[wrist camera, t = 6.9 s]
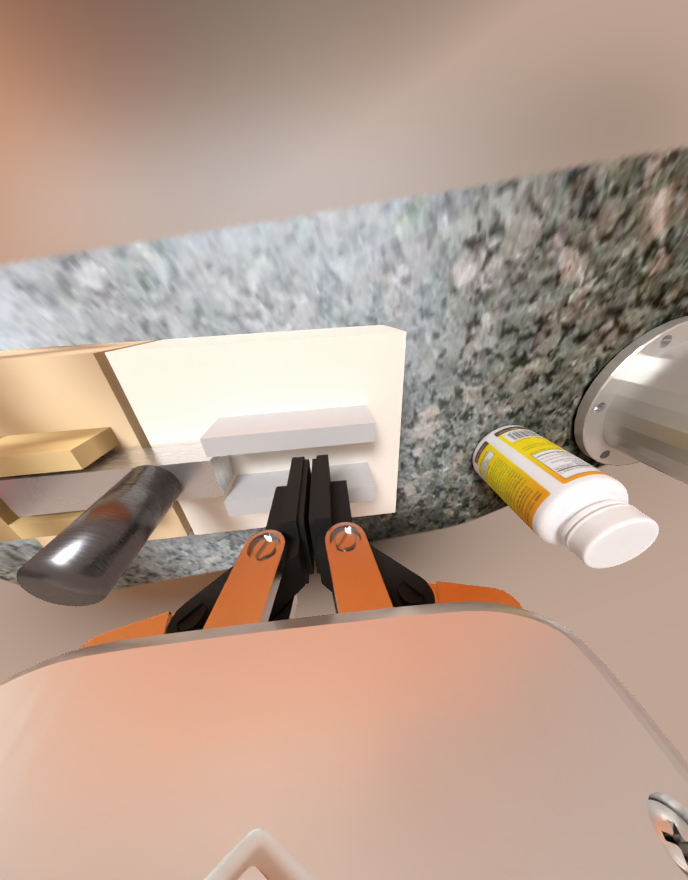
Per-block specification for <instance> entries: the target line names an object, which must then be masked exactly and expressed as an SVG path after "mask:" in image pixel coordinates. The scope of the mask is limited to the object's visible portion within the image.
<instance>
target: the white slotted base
mask: <svg viewBox="0 0 688 880" xmlns="http://www.w3.org/2000/svg"><path fill="white" fill-rule="evenodd" d="M405 346H406V331H402V330H399V329H395V328H392V327H388V326H385V325H372V326H357V327H342V328H328V329H313V330H298V331H283V332H268V333H253V334H239V335H224V336H209V337H194V338H179V339H164V340H160V341H155V342H151V343H146V344H141V345H137V346H132V347H128V348H123V349H119V350H114V351H109V352H105V354H106V356H107V358H108V360H109V362H110V364H111V366H112V368H113V371H114V373H115V375H116V377H117V379H118V381H119V383H120V385H121V387H122V389H123V391H124V393H125V395H126V397H127V399H128V401H129V403H130V405H131V407H132V409H133V411H134V413H135V415H136V417H137V419H138V421H139V423H140V425H141V427H142V429H143V431H144V433H145V435H146V437H147V439H148V441H149V443H150V445H151V447H161V446H172V445H183V444H194V443H202V446H203V449H204V451H205V454H206V457H217V456H229V459H230V462H231V465H232V468H233V471H234V475H233V477H232V479H231V481H230V483H229V485H228V487H227V489H226V491H225V493H224V495H223V496H215V497H206V498H196V499H187V500H178V501H179V503H180V505H181V507H182V509H183V511H184V513H185V515H186V518H187V520H188V522H189V524H190V526H191V528H192V530H193V532H194V534H195V535H200V534H209V533H218V532H227V531H236V530H245V529H254V528H262V527H266V525H267V521H268V517H269V513H270V509H271V505H272V501H273V497H274V493H275V489H276V487H278V486H287V482H288V477H289V471H290V466H291V461H292V458H293V457H305V459H309V462H310V468H311V471H312V459H316V457H317V455H326V454H328V458H329V468H330V478H331V481H342V480H346V481H347V488H348V495H349V502H350V509H351V516H352V517H360V516H369V515H378V514H387V513H395V508H396V492H397V476H398V459H399V443H400V427H401V411H402V395H403V378H404V362H405Z"/></svg>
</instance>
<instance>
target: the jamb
mask: <svg viewBox="0 0 688 880" xmlns="http://www.w3.org/2000/svg"><path fill="white" fill-rule="evenodd" d="M155 341H156V340H150V341H135V342H120V343H105V344H90V345H75V346H61V347H46V348H31V349H16V350H2V351H0V477H7V476H18V475H28V474H39V473H49V472H60V471H70V470H81V469H84V468H85V467H87V466H88V465H90V464H91V463H93V462H94V461H95V460H97V459H98V458H100V457H101V456H103V455H104V454H105V453H107V452H108V451H117V450H128V449H139V448H150V447H151V445H150V443H149V441H148V439H147V437H146V435H145V433H144V431H143V429H142V427H141V425H140V423H139V421H138V419H137V417H136V415H135V413H134V411H133V409H132V407H131V405H130V403H129V401H128V399H127V397H126V395H125V393H124V391H123V389H122V387H121V385H120V383H119V381H118V379H117V377H116V375H115V373H114V371H113V368H112V366H111V364H110V362H109V360H108V358H107V356H106V354H105V352H109V351H114V350H119V349H123V348H128V347H132V346H137V345H141V344H146V343H151V342H155ZM84 511H86V510H81V511H72V512H62V513H52V514H43V515H33V516H24V517H18V516H17V515H16V514H15V513H14V512H13V511H12V509H11V508H10V507H9V506H8V505H7V504H6V503H5V502H4V501H3V500H2V499H1V498H0V541H10V540H19V539H28V538H36V539H37V540H38V542H39V543H40V544H41V545H42V546H43V547H45V546H46V545H47V544H48V543H49V542H51V541H52V540H53V539H54V538H55V537H56V536H57V535H58V534H60V533H61V532H62V531H63V530H64V529H65V528H66V527H67V526H69V525H70V524H71V523H72V522H73V521H74V520H75V519H77V518H78V517H79V516H80V515H81V514H82V513H83V512H84ZM191 529H192V528H191V526H190V524H189V522H188V520H187V518H186V515H185V513H184V511H183V509H182V507H181V505H180V503H179V501H178V500H177V501H175V502H174V504H173V505H172V507H171V508H170V509H169V511H168V512H167V513H166V515H165V516H164V518H163V519H162V520H161V522H160V523H159V525H158V526H157V527H156V529H155V530H154V531H153V533H152V534H151V536H150V537H149V538H148V540H156V539H165V538H174V537H183V536H188V535H189V533H190V531H191Z"/></svg>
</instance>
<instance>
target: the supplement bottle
mask: <svg viewBox="0 0 688 880" xmlns="http://www.w3.org/2000/svg"><path fill="white" fill-rule="evenodd" d="M473 466H474V469H475V471H476V472H477V473H478V475H479V476H480V477H481V478H482V479H483V480H484V481H485V482H486V483H487V484H488V485H489V486H490V487H491V488H492V489H493V490H494V491H495V492H496V493H497V494H498V495H499V496H500V497H501V498H502V499H503V501H504V502H505V503H506V504H507V505H508V506H509V507H510V508H511V509H512V510H513V511H514V512H515V513H516V514H517V515H518V516H519V517H520V518H521V519H522V520H523V521H524V522H525V523H526V524H527V525H528V526H529V527H530V528H531V529H532V530H533V531H534V532H535V533H536V534H537V535H538V536H539V537H540V538H541V539H542V540H544V541H545V542H547V543H550V544H553V545H559V546H567V548H568V549H569V550H570V551H571V552H573V553H574V554H575V555H576V556H578V557H579V558H580V559H581V560H582V561H583V562H584V563H585V564H586V565H588V566H590V567H593V568H607V567H612V566H615V565H619V564H622V563H624V562H627V561H629V560H631V559H633V558H634V557H636V556H638V555H639V554H640V553H642V552H643V551H645V550H646V549H647V548H648V547H649V546H650V545H651V544H652V543H653V542H654V540H655V539H656V537H657V536H658V532H659V527H658V525H657V523H656V522H655V521H654V520H652V519H651V518H649V517H648V516H646V515H645V514H643V513H641V512H640V511H638V510H637V509H636V508H635V507H634V506H632V505H629V504H628V493H627V490H626V488H625V487H624V486H623V484H621V483H620V482H619V481H618V480H616V479H614V478H613V477H611V476H610V475H608V474H606V473H604V472H603V471H601V470H599V469H598V468H595V467H594V466H592V465H590V464H589V463H587V462H585V461H583V460H582V459H580V458H578V457H576V456H575V455H573V454H571V453H569V452H568V451H566V450H564V449H562V448H561V447H559V446H557V445H555V444H554V443H552V442H550V441H548V440H547V439H545V438H543V437H541V436H540V435H538V434H536V433H534V432H532V431H531V430H529V429H527V428H525V427H522V426H517V425H510V426H504V427H501V428H498V429H496V430H494V431H492V432H490V433H489V434H488V435H486V436H485V437H484V438H483V439H482V440H481V441H480V442H479V444H478V445H477V447H476V449H475V451H474V454H473Z"/></svg>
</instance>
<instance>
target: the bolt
mask: <svg viewBox="0 0 688 880" xmlns="http://www.w3.org/2000/svg"><path fill="white" fill-rule="evenodd" d="M233 475H234V471H233V468H232V465H231V462H230V459H229V456H217V457H206V454H205V451H204V449H203V446H202V443H194V444H183V445H172V446H161V447H150V448H139V449H128V450H117V451H108V452H107V453H105V454H104V455H103V456H101V457H100V458H98V459H97V460H95V461H94V462H93V463H91V464H90V465H88V466H87V467H85V468H84V469H81V470H70V471H60V472H49V473H39V474H28V475H18V476H7V477H0V498H1V499H2V500H3V501H4V502H5V503H6V504H7V505H8V506H9V507H10V508H11V509H12V511H13V512H14V513H15V514H16V515H17V516H18V517H24V516H33V515H43V514H52V513H62V512H72V511H81V510H86V511H84V512H83V513H82V514H81V515H80V516H79V517H78V518H77V519H75V520H74V521H73V522H72V523H71V524H70V525H69V526H67V527H66V528H65V529H64V530H63V531H62V532H61V533H60V534H58V535H57V536H56V537H55V538H54V539H53V540H52V541H51V542H49V543H48V544H47V545H46V546H45V547H44V548H43V549H41V550H40V551H39V552H38V553H37V554H36V555H35V556H34V557H32V558H31V559H30V560H29V561H28V562H27V563H26V564H24V565H23V566H22V567H21V568H20V569H19V570H18V572H17V581H18V583H19V584H20V585H21V587H22V588H23V589H24V590H26V591H27V592H28V593H30V594H31V595H33V596H35V597H37V598H40V599H42V600H44V601H47V602H51V603H55V604H60V605H67V606H85V605H91V604H95V603H98V602H100V601H101V600H103V599H104V598H105V597H106V596H107V595H108V594H109V592H110V591H111V589H112V588H113V587H114V585H115V584H116V582H117V581H118V580H119V578H120V577H121V576H122V574H123V573H124V571H125V570H126V569H127V567H128V566H129V565H130V563H131V562H132V560H133V559H134V558H135V556H136V555H137V554H138V552H139V551H140V549H141V548H142V547H143V545H144V544H145V542H146V541H147V540H148V538H149V537H150V536H151V534H152V533H153V531H154V530H155V529H156V527H157V526H158V525H159V523H160V522H161V520H162V519H163V518H164V516H165V515H166V513H167V512H168V511H169V509H170V508H171V507H172V505H173V504H174V502H175V501H177V500H187V499H196V498H206V497H215V496H223V495H224V493H225V491H226V489H227V487H228V485H229V483H230V481H231V479H232V477H233Z"/></svg>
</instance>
